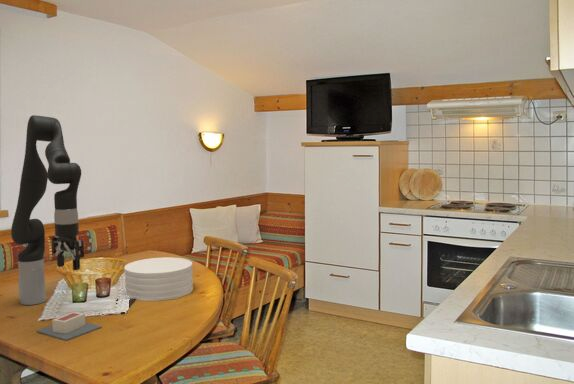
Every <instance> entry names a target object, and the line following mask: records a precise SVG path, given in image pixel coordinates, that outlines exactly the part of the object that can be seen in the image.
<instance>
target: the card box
mask: <svg viewBox="0 0 574 384" xmlns="http://www.w3.org/2000/svg"><path fill="white" fill-rule="evenodd" d="M51 322H52V323H51V324H52V325H53V332H58V333H63V334H66V333H68V332H71V331H73V330H75V329H78V328H80V327H82V326H84V325H85V322H86V314H85V313H82V312H75V311H71V312H70V313H67V314H64V315H61V316H60V317H56V318H54V319H52V320H51Z"/></svg>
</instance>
